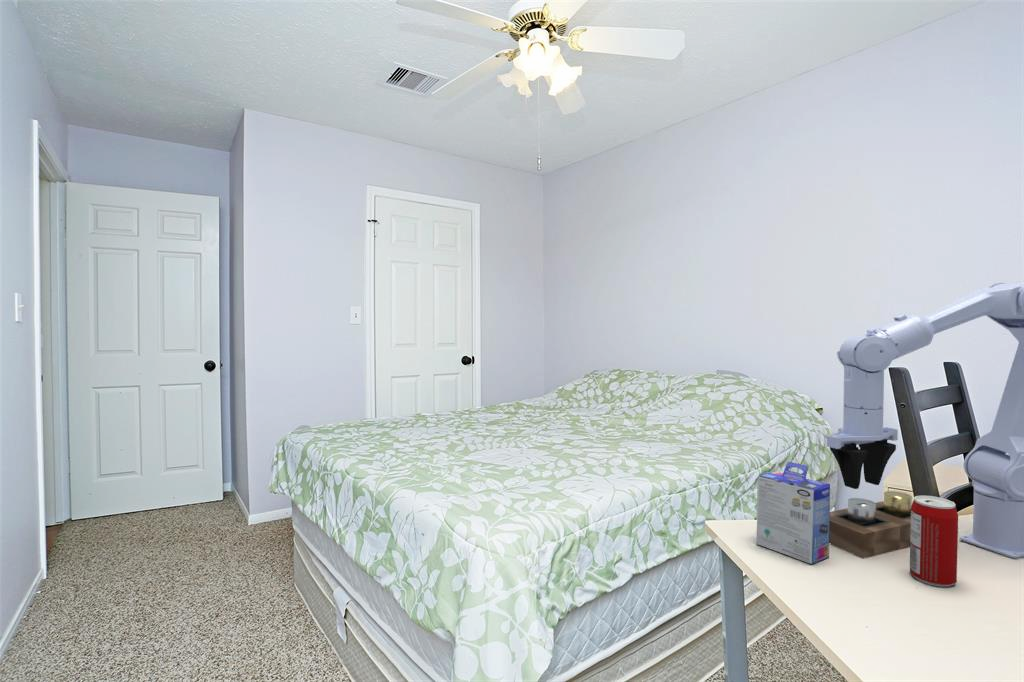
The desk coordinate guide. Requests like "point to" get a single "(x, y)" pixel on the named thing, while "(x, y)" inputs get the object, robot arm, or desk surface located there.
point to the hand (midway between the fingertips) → (861, 485)
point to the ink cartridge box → (793, 514)
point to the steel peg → (861, 511)
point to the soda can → (934, 540)
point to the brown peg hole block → (869, 533)
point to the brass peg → (897, 504)
